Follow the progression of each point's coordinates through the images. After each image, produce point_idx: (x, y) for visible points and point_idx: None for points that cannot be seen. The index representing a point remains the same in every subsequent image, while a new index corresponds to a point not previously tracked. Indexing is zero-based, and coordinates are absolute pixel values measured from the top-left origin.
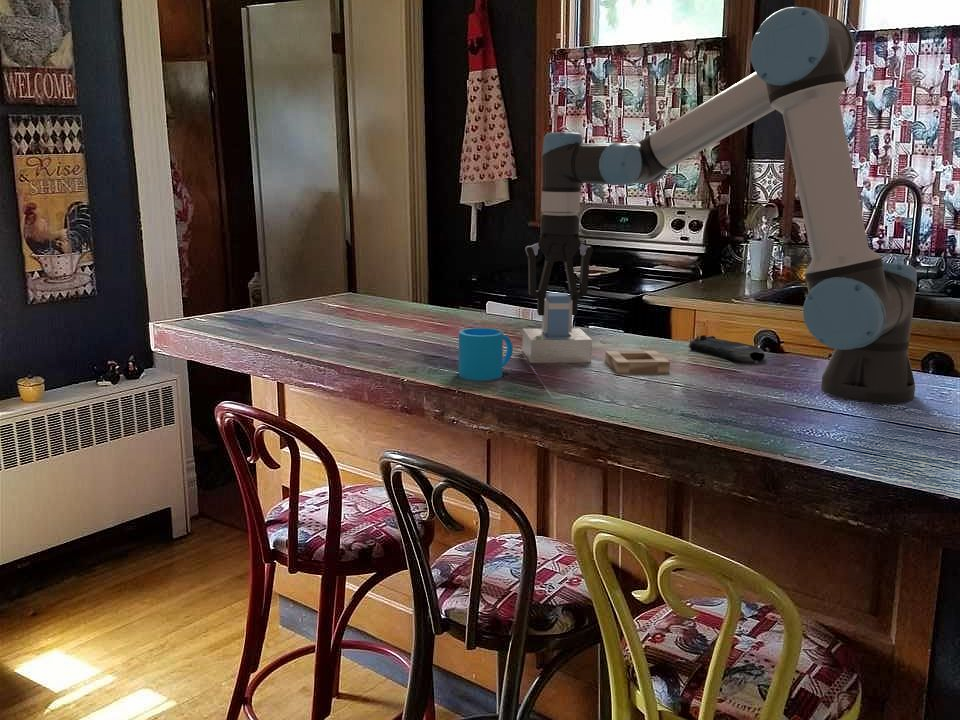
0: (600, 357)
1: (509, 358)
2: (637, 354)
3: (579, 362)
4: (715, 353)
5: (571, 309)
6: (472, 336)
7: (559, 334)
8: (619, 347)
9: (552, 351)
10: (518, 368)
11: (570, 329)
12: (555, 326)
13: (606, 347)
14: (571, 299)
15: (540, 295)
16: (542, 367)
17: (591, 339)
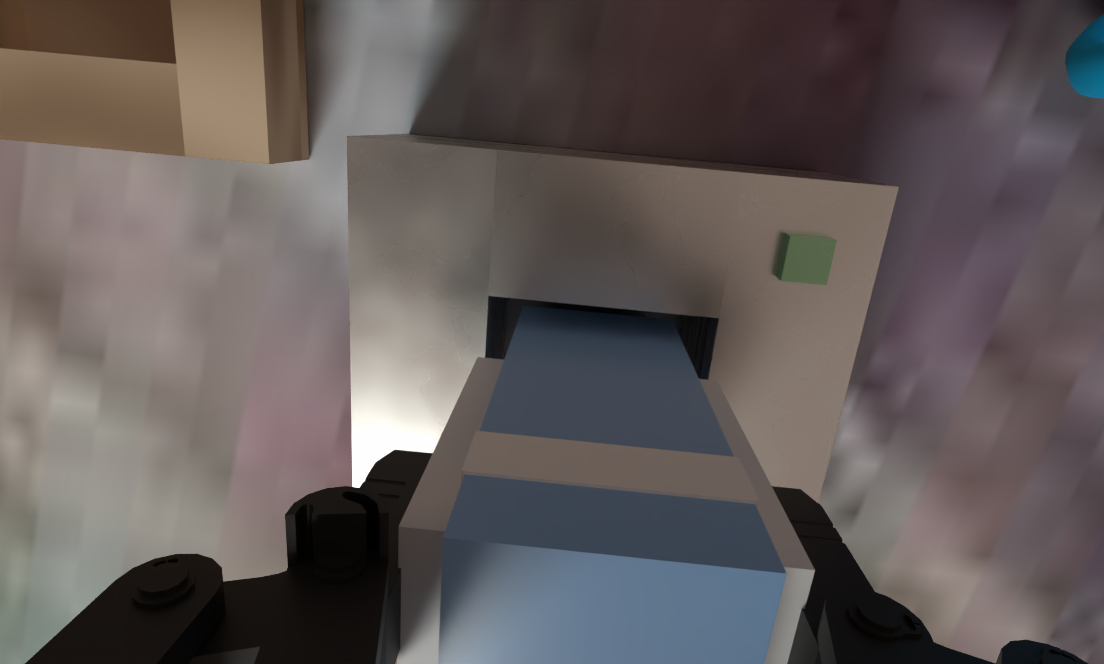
0: (304, 333)
1: (1083, 38)
2: (44, 53)
3: (485, 141)
4: None
5: (440, 460)
6: None
7: (589, 338)
8: (149, 554)
9: (686, 163)
10: (933, 94)
11: (483, 366)
12: (630, 369)
13: (222, 564)
14: (401, 581)
15: (913, 644)
16: (757, 102)
17: (350, 149)
